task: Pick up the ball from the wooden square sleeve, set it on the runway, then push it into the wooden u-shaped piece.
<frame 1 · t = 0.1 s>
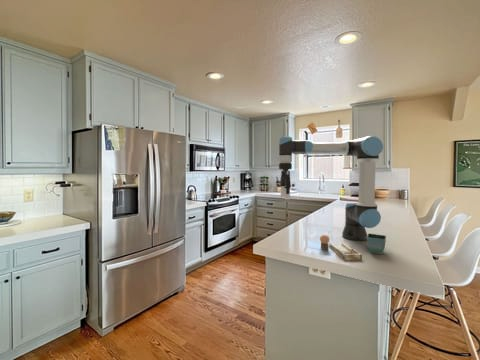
hand: (285, 198, 147), 28 cm above the worktop, fingers open, 13 cm apart
runway: (340, 249, 137), on the worktop
wooden square sleeve: (324, 249, 138), on the worktop
ball: (324, 239, 138), point 6 cm above the worktop, touching wooden square sleeve
flower pot: (376, 252, 133), on the worktop
wooden u-shaped piece: (348, 256, 127), on the worktop
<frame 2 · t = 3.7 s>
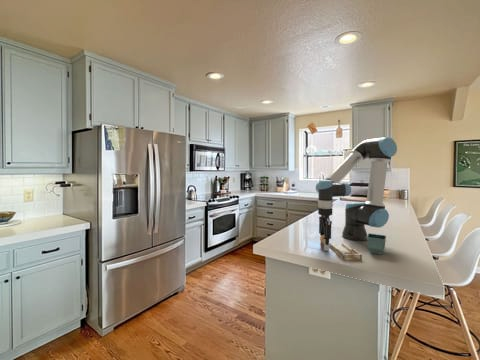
hand: (324, 248, 138), 1 cm above the worktop, fingers closed on ball, 5 cm apart
ball: (324, 239, 138), point 6 cm above the worktop, touching gripper, wooden square sleeve
everything else where it was.
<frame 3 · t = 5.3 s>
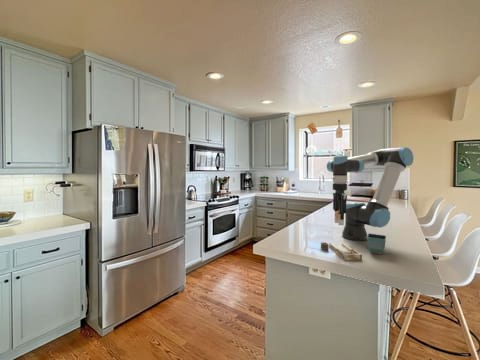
hand: (339, 223, 138), 14 cm above the worktop, fingers closed on ball, 5 cm apart
ball: (339, 214, 138), point 20 cm above the worktop, touching gripper
everything else where it was.
when the fingers open (1 cm above the worktop, at t = 7.0 s): ball stays where it is, point 6 cm above the worktop.
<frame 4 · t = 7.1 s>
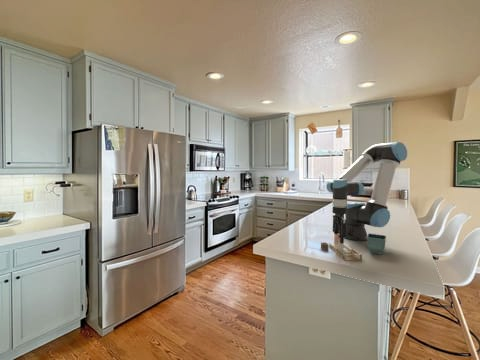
hand: (338, 246, 139), 1 cm above the worktop, fingers open, 5 cm apart
ball: (338, 238, 139), point 6 cm above the worktop
everything else where it was.
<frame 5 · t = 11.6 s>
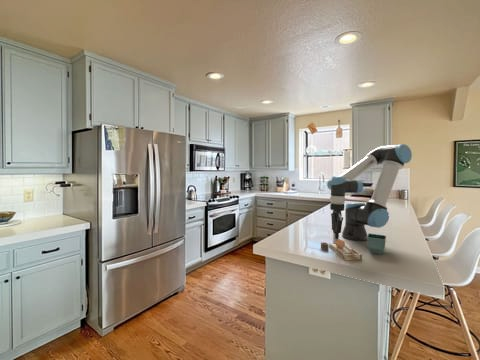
hand: (335, 243, 141), 2 cm above the worktop, fingers closed
ball: (340, 243, 138), point 3 cm above the worktop, tilted 17°, touching runway
everything else where it was.
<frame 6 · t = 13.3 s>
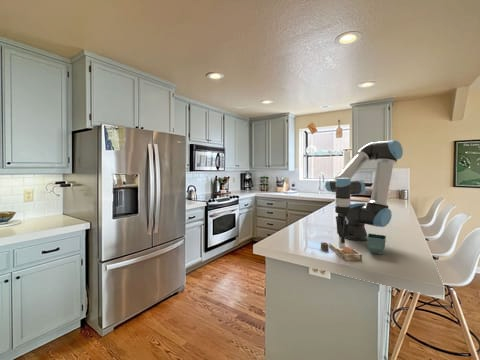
hand: (341, 248, 135), 2 cm above the worktop, fingers closed
ball: (347, 251, 127), point 2 cm above the worktop, tilted 86°
everything else where it was.
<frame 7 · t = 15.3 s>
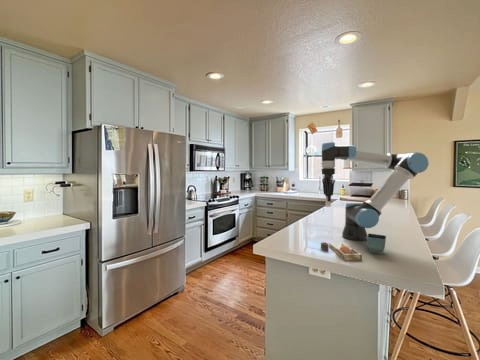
hand: (328, 206, 149), 22 cm above the worktop, fingers closed
ball: (344, 250, 129), point 2 cm above the worktop, tilted 137°
everything else where it was.
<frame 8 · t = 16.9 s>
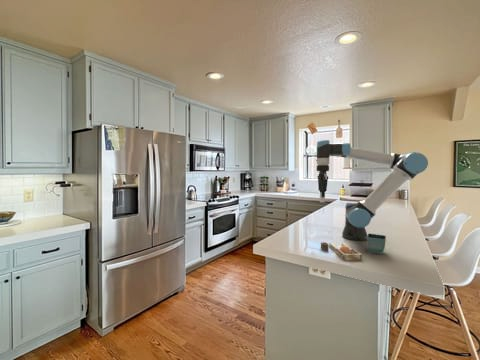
hand: (322, 202, 155), 24 cm above the worktop, fingers closed
nothing on the worktop moved.
at the end: ball inside the target area (2.7 cm from its centre), point 2.5 cm above the worktop; the gripper is holding nothing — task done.
